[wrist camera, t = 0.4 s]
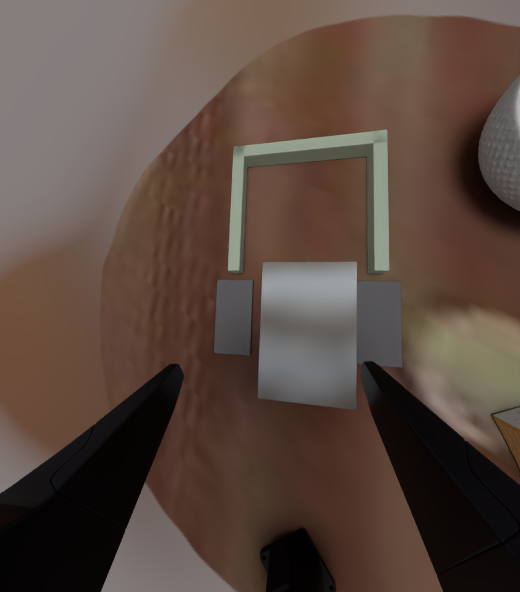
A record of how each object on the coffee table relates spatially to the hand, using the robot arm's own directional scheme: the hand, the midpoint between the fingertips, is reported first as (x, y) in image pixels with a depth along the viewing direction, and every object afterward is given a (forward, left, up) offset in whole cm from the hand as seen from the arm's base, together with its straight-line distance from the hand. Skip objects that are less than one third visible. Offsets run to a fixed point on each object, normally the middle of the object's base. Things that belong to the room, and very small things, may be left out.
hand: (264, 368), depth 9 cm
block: (-1, -3, -16) cm, 16 cm away
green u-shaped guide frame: (+7, -8, -16) cm, 19 cm away
